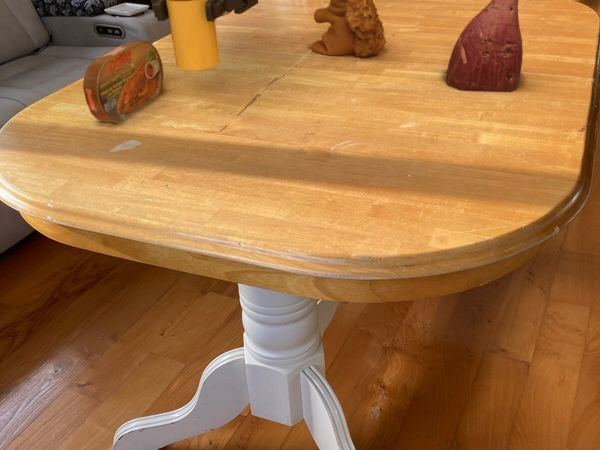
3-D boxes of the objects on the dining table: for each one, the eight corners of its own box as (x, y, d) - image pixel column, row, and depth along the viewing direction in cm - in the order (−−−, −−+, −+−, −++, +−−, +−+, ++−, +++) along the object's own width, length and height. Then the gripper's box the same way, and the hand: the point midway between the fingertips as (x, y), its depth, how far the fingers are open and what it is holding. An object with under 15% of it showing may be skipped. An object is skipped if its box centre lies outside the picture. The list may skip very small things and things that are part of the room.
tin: (109, 134, 74) (94, 68, 69) (88, 131, 75) (72, 67, 70) (169, 91, 86) (159, 33, 81) (150, 90, 86) (139, 32, 82)
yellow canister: (169, 70, 74) (156, -4, 68) (184, 55, 78) (173, -16, 73) (213, 71, 73) (203, -5, 68) (226, 56, 77) (217, -16, 72)
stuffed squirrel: (348, 37, 105) (348, -42, 98) (403, 55, 96) (408, -31, 88) (303, 48, 101) (300, -34, 93) (357, 68, 91) (358, -21, 84)
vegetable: (497, 89, 90) (534, -13, 84) (525, 106, 81) (568, -7, 75) (433, 76, 89) (465, -30, 82) (453, 92, 79) (491, -26, 73)
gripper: (170, -47, 82) (120, -21, 68) (270, -48, 80) (239, -21, 66) (178, 8, 86) (133, 43, 73) (273, 9, 84) (245, 45, 70)
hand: (183, 12), depth 69 cm, fingers closed on yellow canister, 5 cm apart
